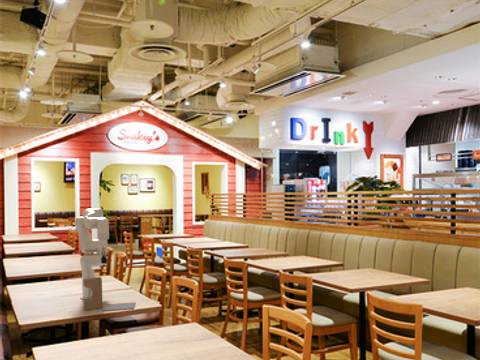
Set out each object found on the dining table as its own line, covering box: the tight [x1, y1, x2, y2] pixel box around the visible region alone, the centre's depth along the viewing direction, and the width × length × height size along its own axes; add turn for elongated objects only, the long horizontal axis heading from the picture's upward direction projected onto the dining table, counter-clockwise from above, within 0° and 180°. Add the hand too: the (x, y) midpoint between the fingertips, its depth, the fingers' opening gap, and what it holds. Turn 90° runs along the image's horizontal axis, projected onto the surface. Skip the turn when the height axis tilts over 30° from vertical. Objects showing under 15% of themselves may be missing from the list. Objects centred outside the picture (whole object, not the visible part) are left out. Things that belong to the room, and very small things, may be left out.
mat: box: [101, 301, 136, 312], centre depth 313 cm, size 16×20×1 cm
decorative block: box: [83, 276, 104, 311], centre depth 313 cm, size 11×6×20 cm, turn 119°
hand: (103, 262), depth 314 cm, fingers open, 9 cm apart
